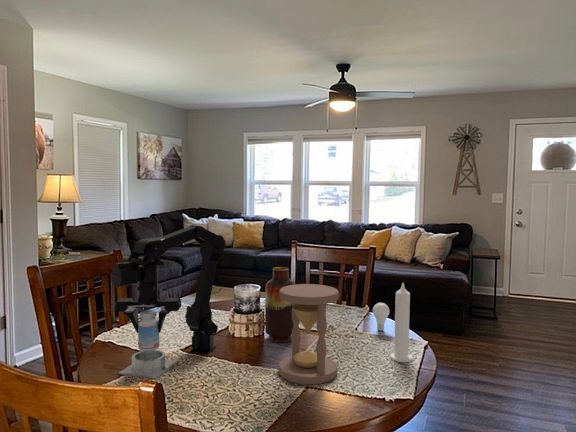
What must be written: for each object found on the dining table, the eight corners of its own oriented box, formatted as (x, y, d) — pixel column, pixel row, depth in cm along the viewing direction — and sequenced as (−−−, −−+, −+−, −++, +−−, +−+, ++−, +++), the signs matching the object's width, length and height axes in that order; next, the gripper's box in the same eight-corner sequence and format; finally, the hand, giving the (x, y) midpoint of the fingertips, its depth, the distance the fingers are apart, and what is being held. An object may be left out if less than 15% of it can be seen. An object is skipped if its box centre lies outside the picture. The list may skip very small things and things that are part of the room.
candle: (413, 363, 141) (415, 285, 140) (390, 361, 142) (392, 284, 141) (411, 355, 148) (413, 281, 146) (389, 353, 149) (391, 279, 148)
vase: (268, 345, 156) (269, 271, 154) (262, 335, 167) (262, 266, 165) (299, 342, 159) (299, 270, 157) (290, 332, 170) (291, 265, 168)
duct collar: (176, 363, 139) (176, 350, 139) (155, 379, 128) (155, 365, 128) (142, 359, 142) (142, 346, 142) (119, 374, 131) (119, 360, 131)
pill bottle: (159, 350, 133) (159, 313, 132) (138, 352, 131) (137, 315, 130) (159, 343, 139) (158, 308, 138) (138, 345, 137) (138, 309, 136)
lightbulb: (371, 332, 171) (372, 304, 171) (373, 327, 177) (373, 300, 177) (388, 334, 169) (389, 305, 169) (389, 329, 175) (390, 301, 175)
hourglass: (271, 364, 139) (271, 285, 137) (321, 357, 145) (322, 282, 143) (291, 388, 122) (292, 299, 121) (347, 379, 129) (349, 294, 127)
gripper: (184, 275, 142) (184, 323, 143) (124, 276, 141) (125, 324, 142) (177, 283, 131) (178, 335, 132) (112, 284, 130) (113, 336, 131)
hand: (148, 332), depth 135 cm, fingers closed on pill bottle, 6 cm apart
